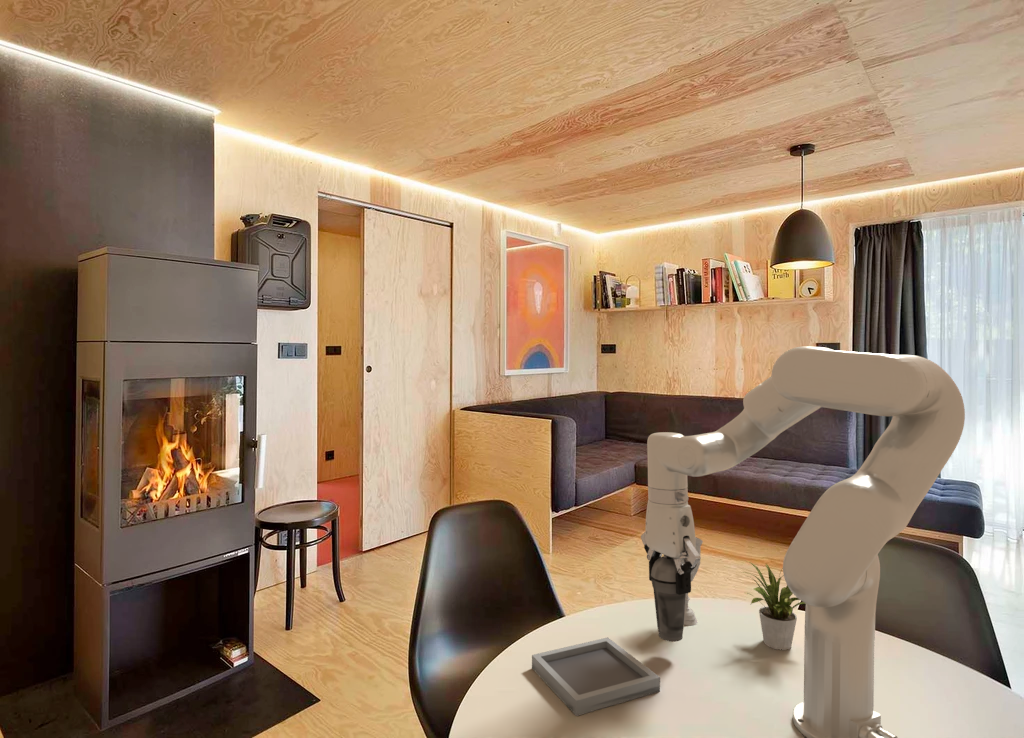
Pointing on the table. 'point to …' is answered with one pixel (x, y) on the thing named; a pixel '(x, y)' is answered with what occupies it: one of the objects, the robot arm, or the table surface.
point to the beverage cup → (668, 600)
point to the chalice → (689, 614)
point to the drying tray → (594, 675)
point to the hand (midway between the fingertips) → (669, 585)
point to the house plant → (776, 612)
